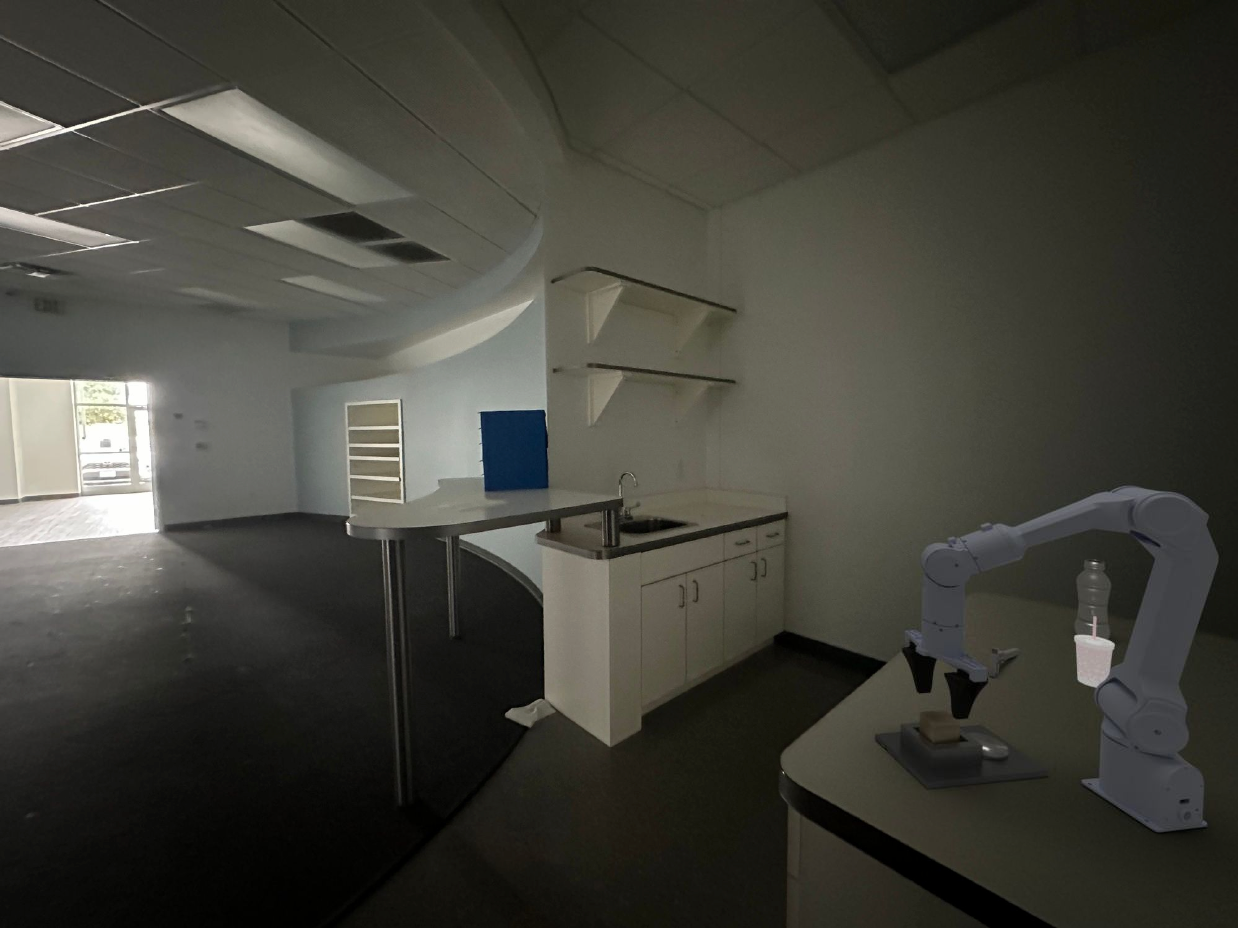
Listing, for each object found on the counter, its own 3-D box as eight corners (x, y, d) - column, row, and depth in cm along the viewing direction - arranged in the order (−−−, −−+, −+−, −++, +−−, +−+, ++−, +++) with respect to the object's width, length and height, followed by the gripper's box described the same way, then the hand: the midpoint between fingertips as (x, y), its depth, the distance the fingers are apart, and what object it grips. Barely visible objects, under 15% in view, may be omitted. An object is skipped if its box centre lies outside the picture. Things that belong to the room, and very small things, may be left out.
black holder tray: (1048, 776, 75) (1049, 750, 75) (927, 788, 72) (927, 762, 72) (981, 730, 87) (981, 707, 86) (875, 739, 84) (875, 716, 84)
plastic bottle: (1083, 643, 122) (1086, 563, 121) (1068, 633, 129) (1070, 557, 128) (1116, 646, 121) (1119, 565, 120) (1098, 635, 127) (1101, 558, 126)
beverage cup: (1117, 692, 99) (1120, 624, 98) (1076, 685, 102) (1079, 618, 101) (1107, 679, 104) (1110, 614, 103) (1069, 673, 107) (1071, 609, 107)
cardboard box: (958, 757, 78) (959, 720, 78) (932, 759, 77) (933, 722, 77) (944, 745, 81) (945, 709, 81) (918, 747, 80) (919, 711, 80)
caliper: (994, 679, 105) (995, 650, 105) (988, 677, 106) (989, 649, 106) (1020, 653, 118) (1021, 627, 118) (1015, 651, 119) (1016, 625, 118)
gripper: (888, 606, 85) (887, 683, 85) (956, 640, 70) (954, 733, 71) (926, 604, 86) (925, 680, 86) (1001, 637, 71) (998, 729, 72)
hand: (941, 704), depth 79 cm, fingers open, 7 cm apart
